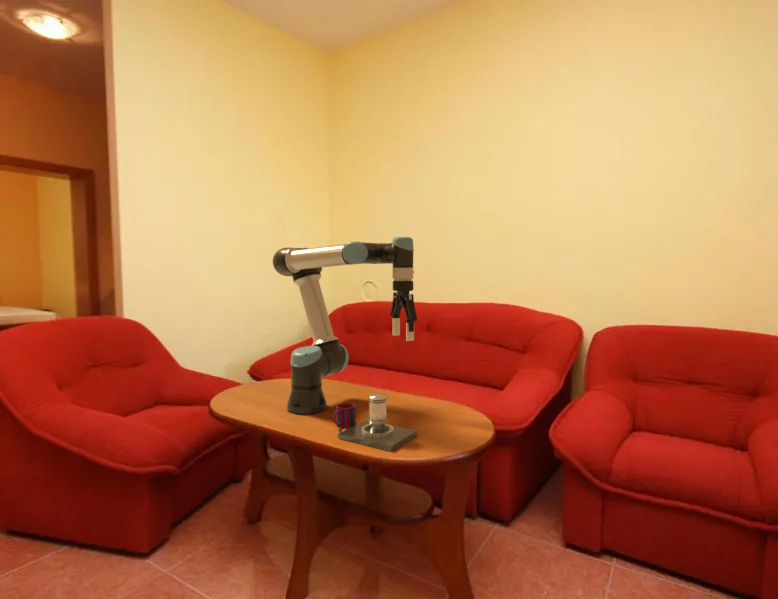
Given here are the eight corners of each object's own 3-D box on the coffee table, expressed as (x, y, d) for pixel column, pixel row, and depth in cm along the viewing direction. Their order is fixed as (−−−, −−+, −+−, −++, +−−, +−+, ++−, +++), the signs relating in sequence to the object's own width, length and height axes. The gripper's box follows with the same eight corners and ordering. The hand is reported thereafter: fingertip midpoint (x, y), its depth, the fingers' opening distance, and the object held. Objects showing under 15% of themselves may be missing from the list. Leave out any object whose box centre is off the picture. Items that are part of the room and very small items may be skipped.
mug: (359, 424, 164) (359, 404, 164) (339, 432, 156) (339, 412, 156) (345, 420, 168) (345, 401, 168) (325, 427, 161) (325, 408, 160)
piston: (366, 430, 154) (366, 394, 153) (383, 428, 156) (383, 392, 155) (371, 436, 148) (371, 399, 147) (389, 434, 150) (389, 397, 149)
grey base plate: (337, 438, 151) (337, 430, 150) (366, 424, 164) (366, 416, 164) (391, 451, 140) (391, 442, 140) (416, 435, 154) (416, 426, 153)
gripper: (426, 281, 160) (426, 342, 162) (400, 278, 184) (400, 332, 185) (406, 281, 158) (406, 343, 159) (381, 279, 181) (382, 333, 183)
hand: (402, 338), depth 172 cm, fingers open, 13 cm apart
